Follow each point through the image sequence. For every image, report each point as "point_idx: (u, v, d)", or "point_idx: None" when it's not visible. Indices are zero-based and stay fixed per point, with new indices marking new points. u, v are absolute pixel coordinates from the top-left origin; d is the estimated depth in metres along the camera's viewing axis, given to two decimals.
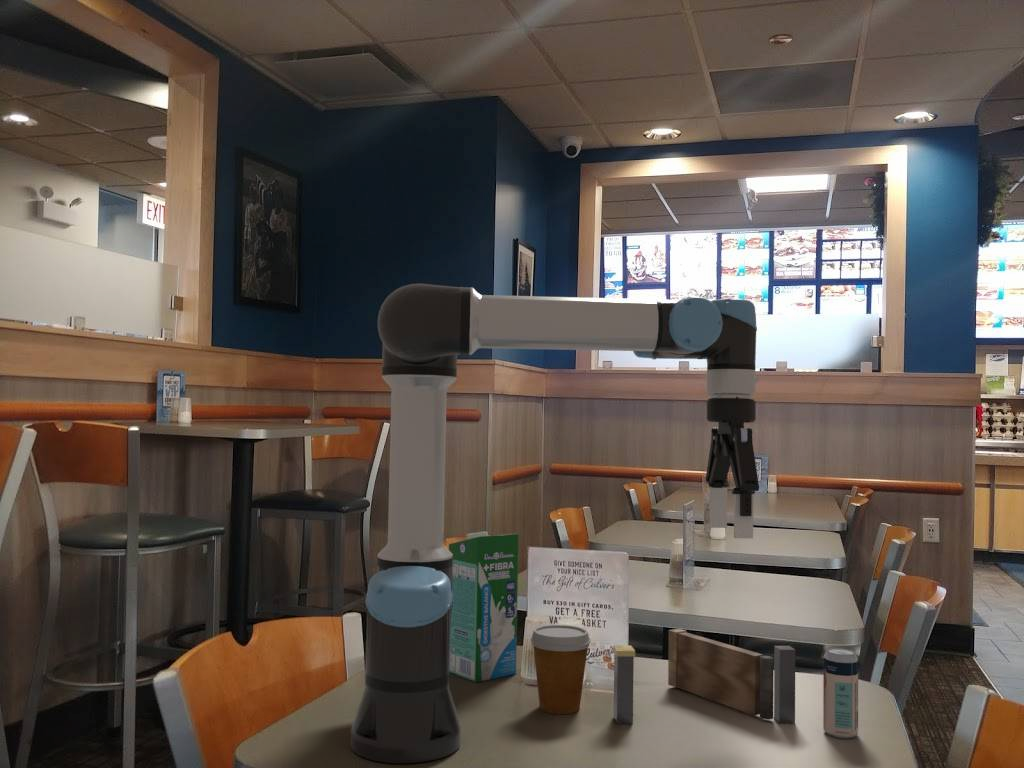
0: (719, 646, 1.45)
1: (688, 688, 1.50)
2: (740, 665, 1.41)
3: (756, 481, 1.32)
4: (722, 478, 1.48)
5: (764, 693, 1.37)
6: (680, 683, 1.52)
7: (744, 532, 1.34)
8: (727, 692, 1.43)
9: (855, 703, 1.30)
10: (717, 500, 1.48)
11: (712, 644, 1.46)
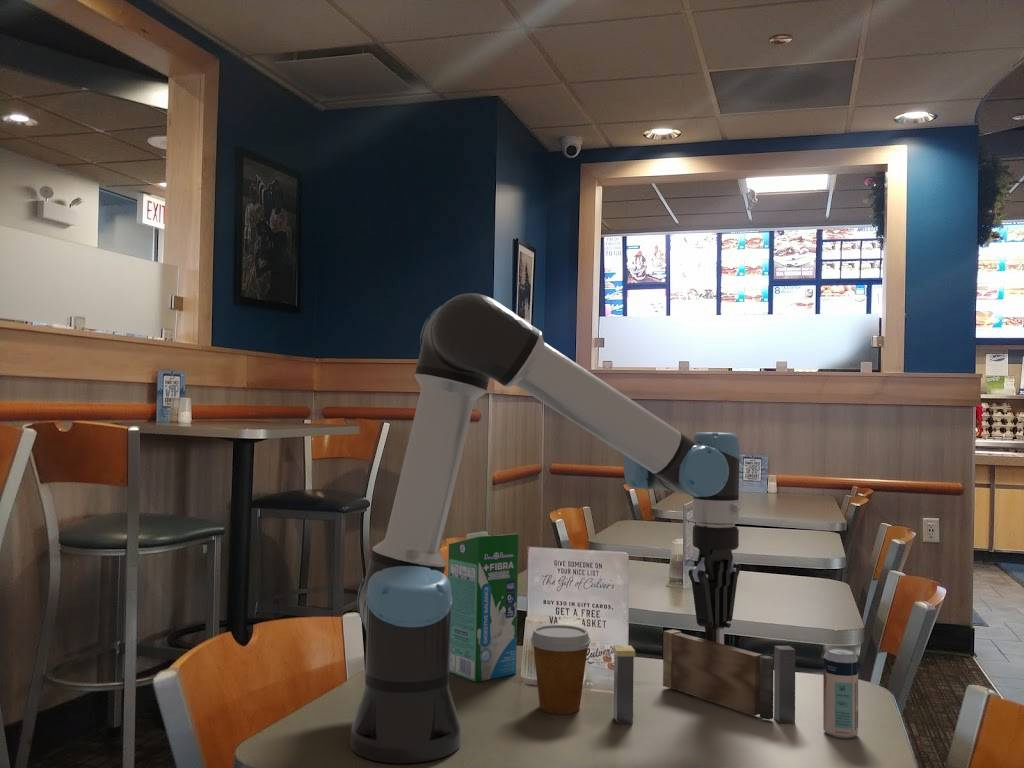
0: (717, 647, 1.44)
1: (684, 689, 1.49)
2: (739, 665, 1.41)
3: (707, 621, 1.47)
4: (719, 613, 1.50)
5: (764, 693, 1.37)
6: (675, 684, 1.51)
7: None
8: (726, 693, 1.43)
9: (855, 703, 1.30)
10: None
11: (709, 645, 1.46)
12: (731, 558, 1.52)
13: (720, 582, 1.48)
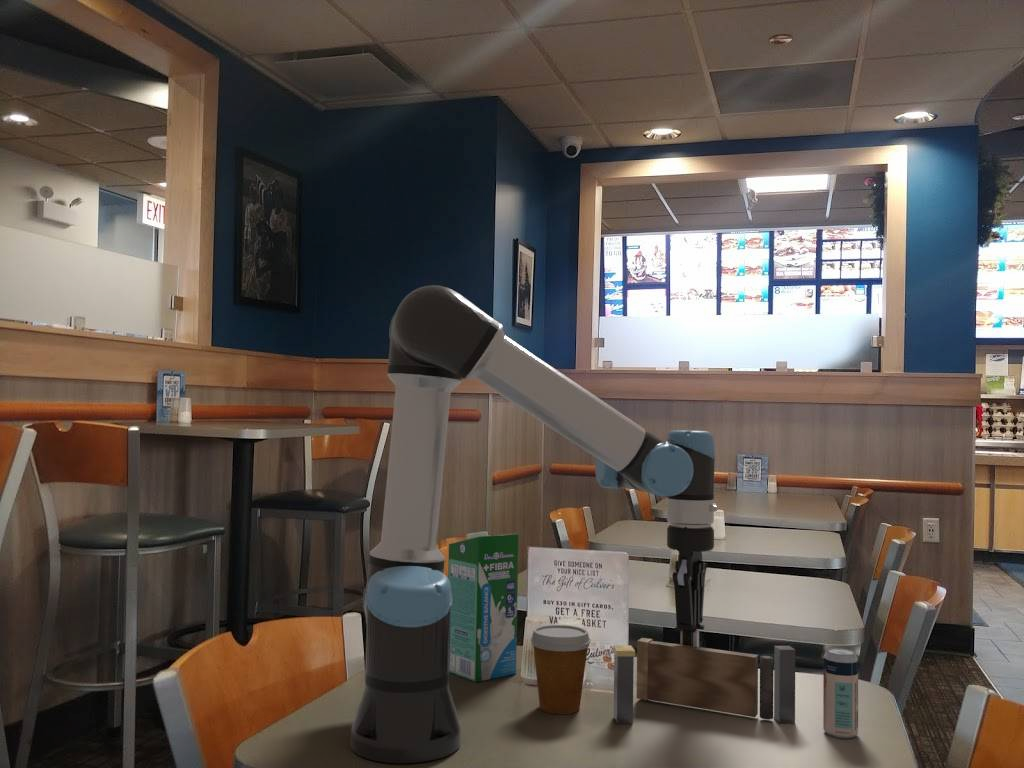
0: (707, 651, 1.41)
1: (664, 699, 1.44)
2: (736, 668, 1.39)
3: (689, 624, 1.43)
4: None
5: (767, 693, 1.36)
6: (652, 695, 1.45)
7: None
8: (718, 698, 1.40)
9: (855, 703, 1.30)
10: None
11: (697, 650, 1.42)
12: (701, 558, 1.49)
13: (698, 584, 1.45)
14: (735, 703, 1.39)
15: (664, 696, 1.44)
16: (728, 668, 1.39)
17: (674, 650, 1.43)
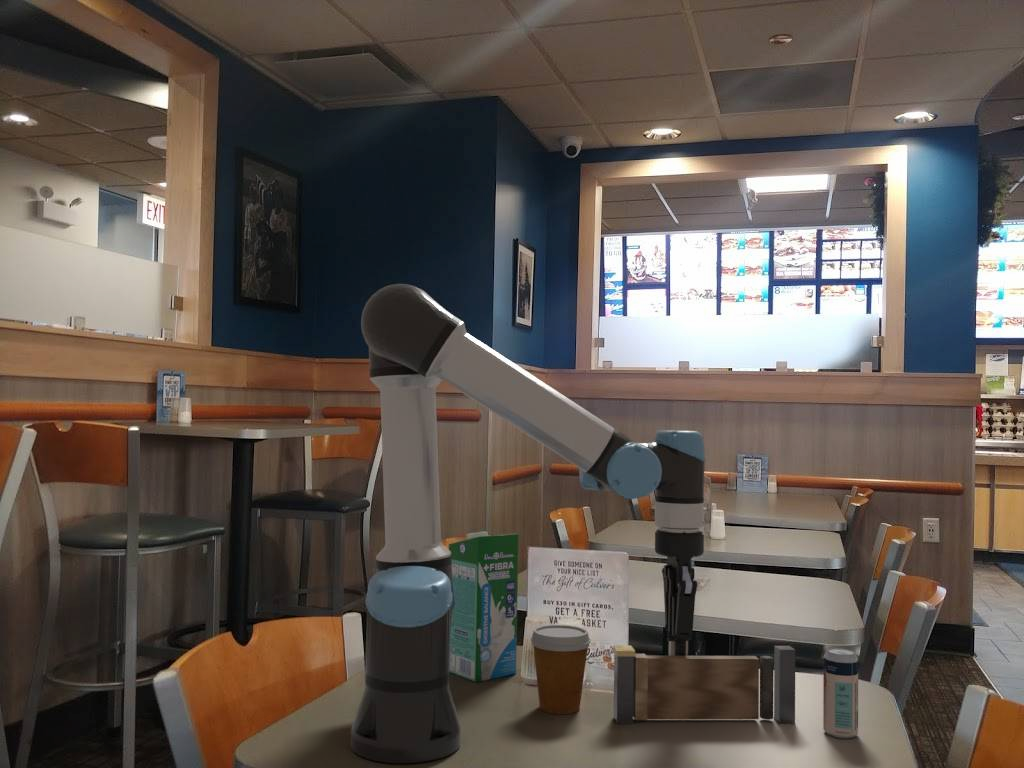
0: (710, 659, 1.36)
1: (664, 716, 1.36)
2: (739, 673, 1.36)
3: (690, 634, 1.36)
4: None
5: (771, 693, 1.37)
6: (652, 713, 1.35)
7: None
8: (722, 705, 1.36)
9: (855, 703, 1.30)
10: None
11: (700, 659, 1.36)
12: None
13: None
14: (739, 708, 1.36)
15: (665, 713, 1.36)
16: (732, 673, 1.36)
17: (675, 662, 1.36)
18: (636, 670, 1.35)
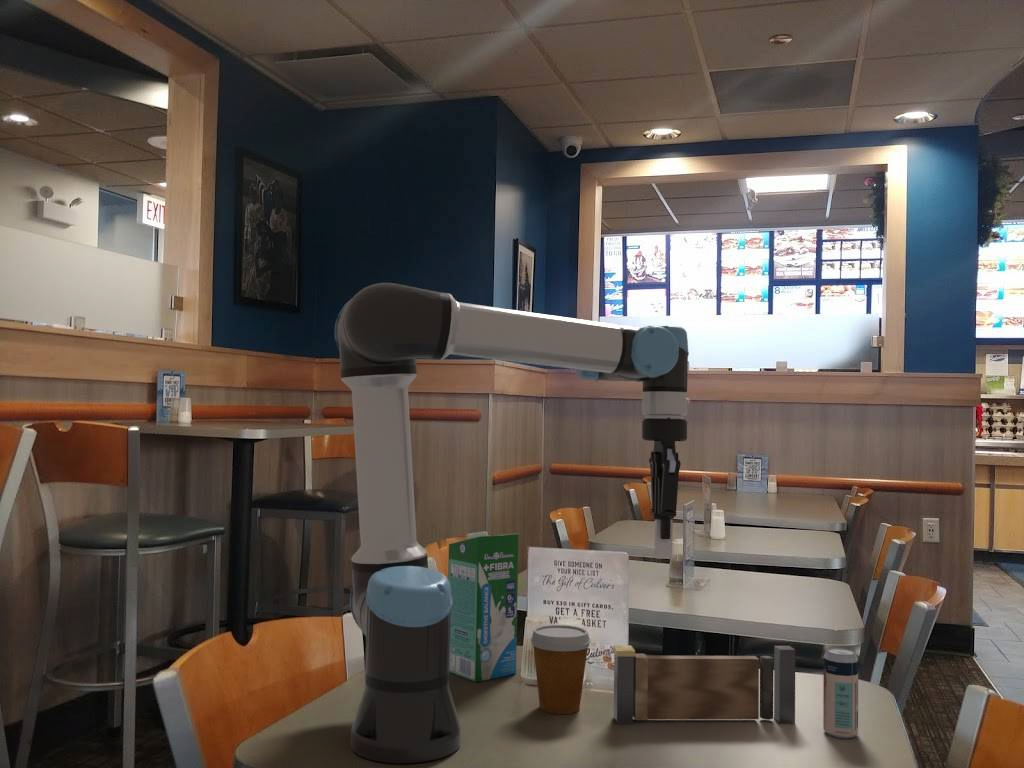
0: (710, 659, 1.36)
1: (664, 716, 1.36)
2: (739, 673, 1.36)
3: (674, 510, 1.48)
4: None
5: (771, 693, 1.37)
6: (652, 713, 1.35)
7: (664, 553, 1.51)
8: (722, 705, 1.36)
9: (855, 703, 1.30)
10: None
11: (700, 659, 1.36)
12: None
13: None
14: (739, 708, 1.36)
15: (665, 713, 1.36)
16: (732, 673, 1.36)
17: (675, 662, 1.36)
18: (636, 670, 1.35)
